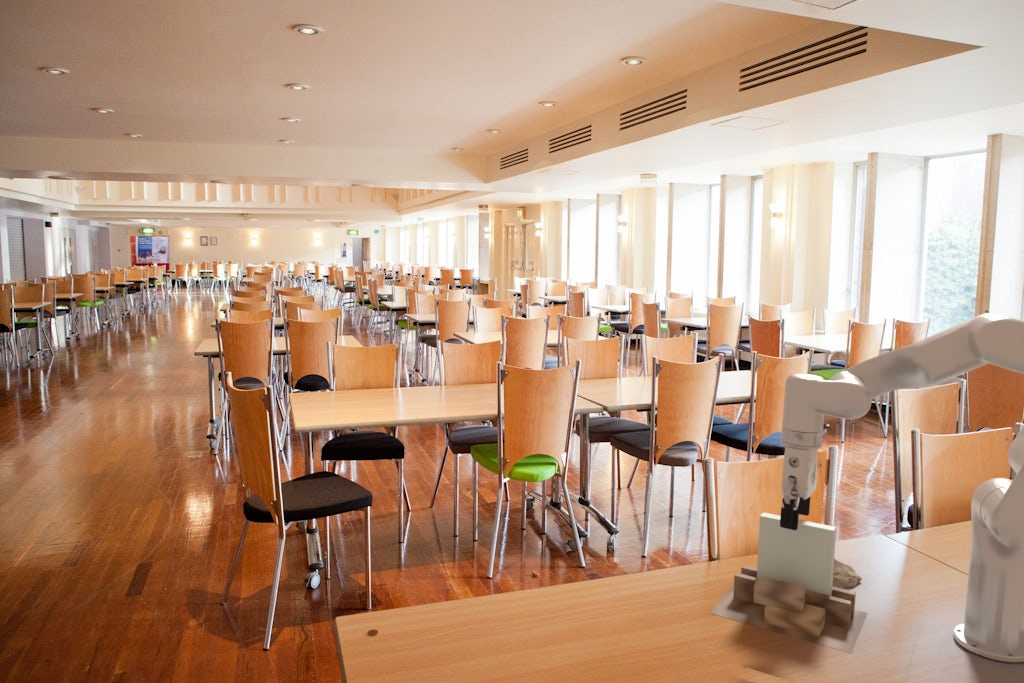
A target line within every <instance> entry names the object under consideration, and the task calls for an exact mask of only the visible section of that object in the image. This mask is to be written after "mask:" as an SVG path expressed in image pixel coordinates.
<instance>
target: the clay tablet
mask: <svg viewBox="0 0 1024 683" xmlns="http://www.w3.org/2000/svg"><path fill="white" fill-rule="evenodd" d="M862 580H863V579H862V577H861V576H860V575H859V574H857V573H856V570H854V568H853V567H852V566H851V565H848V564H846V563H843V562H841V561H839V560H837V559H835V558H834V568H833V584H832V586H833V587H837V588H841V589H846V588H848V589H849V588H853V587H856V586H857V585H858V584H859V583H860V582H861V581H862Z"/></svg>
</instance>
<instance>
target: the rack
mask: <svg viewBox="0 0 1024 683" xmlns="http://www.w3.org/2000/svg"><path fill="white" fill-rule="evenodd" d="M733 578H734V580H733V584H732V586H730V588H729V589H728V590H727V591H726V592H725V594H724V595H723V596H722V597H721V599H720V600H719V601H718V602H717V603H716V604H715V606H714V607H713V608H712V609H711V610H710V611H709V614H711V615H714V616H718V617H720V618H721V617H722V618H724V619H727V620H732V621H736V622H738V623H739V622H740V623H742V624H747V625H749V626H753V627H755V628H756V627H757V628H760V629H763V630H767V631H771V632H775V633H778V634H782V635H785V636H789V637H792V638H796V639H799V640H802V641H806V642H810V643H814V644H817V645H820V646H823V647H826V648H830V649H834V650H837V651H841V652H844V653H848V654H852V652H853V651H854V650H853V649H854V648H855V645H856V644H857V640H858V638H859V635H860V632H861V631H862V630H861V629H862V628H863V625H864V622H865V620H866V619H867V615H868V612H865V611H861V610H857V609H855V608H856V591H853V590H848V589H846V588H837V587H833V586H832V596H828V595H824V594H820V593H816V592H812V591H808V590H806V592H805V604H808V605H812V606H816V607H820V608H824V609H826V610H825V625H824V628H823V630H822V632H821V634H820V636H819V637H816V636H812V635H809V634H805V633H801V632H798V631H794V630H791V629H787V628H783V627H780V626H776V625H773V624H769V623H766V622H764V616H765V605H763V604H758V603H753V601H754V585H755V582H756V579H757V567H754V566H750V565H745V564H743V565H742V566H741V569H740V573H739V572H736V573H735V574H734V577H733Z"/></svg>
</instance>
